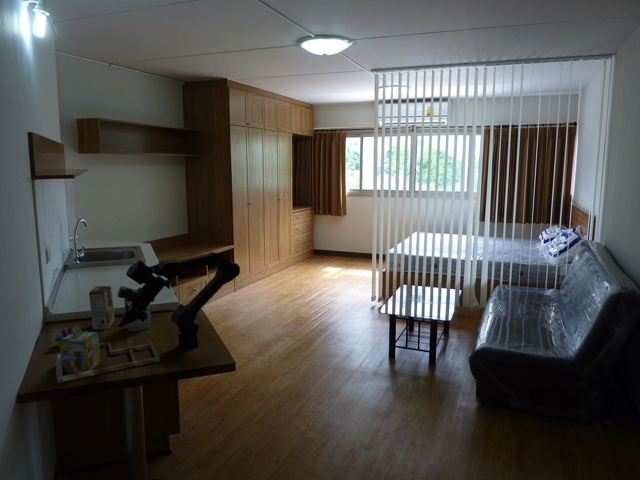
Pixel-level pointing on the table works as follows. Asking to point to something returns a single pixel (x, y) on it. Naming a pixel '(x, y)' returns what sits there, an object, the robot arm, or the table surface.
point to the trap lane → (112, 368)
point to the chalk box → (79, 351)
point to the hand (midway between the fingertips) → (119, 326)
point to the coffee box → (101, 307)
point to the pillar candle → (139, 321)
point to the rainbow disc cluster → (65, 333)
